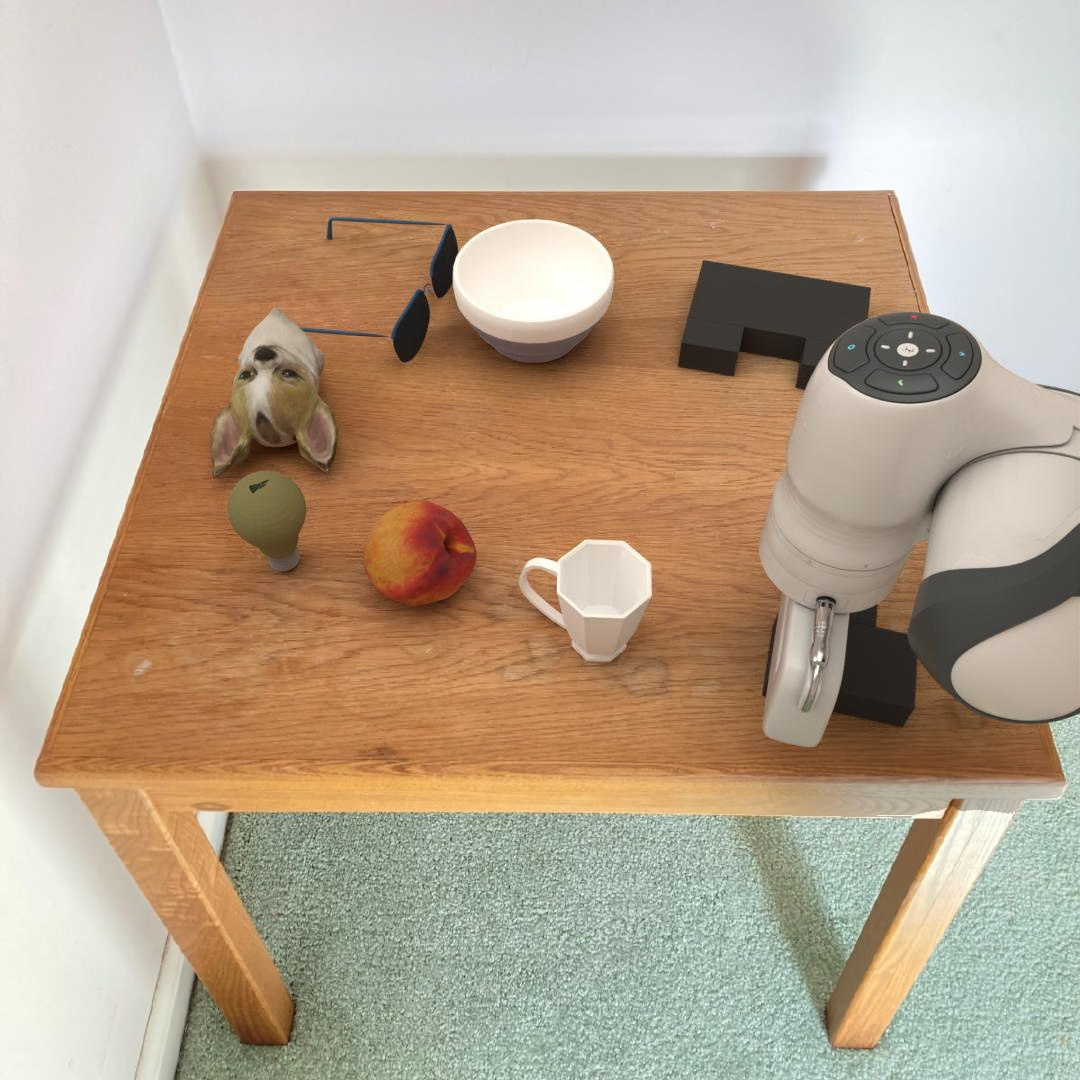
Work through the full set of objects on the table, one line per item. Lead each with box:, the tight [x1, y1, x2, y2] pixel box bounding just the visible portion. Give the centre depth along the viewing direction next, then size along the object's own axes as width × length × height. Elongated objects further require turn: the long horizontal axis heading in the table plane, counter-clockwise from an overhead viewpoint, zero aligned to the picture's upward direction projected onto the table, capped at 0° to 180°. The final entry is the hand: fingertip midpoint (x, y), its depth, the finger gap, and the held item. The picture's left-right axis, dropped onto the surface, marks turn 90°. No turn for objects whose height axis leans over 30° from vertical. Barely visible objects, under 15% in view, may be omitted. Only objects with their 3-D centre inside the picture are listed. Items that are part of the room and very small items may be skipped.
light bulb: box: [227, 470, 307, 572], centre depth 77 cm, size 6×6×10 cm
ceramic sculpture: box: [209, 306, 339, 478], centre depth 87 cm, size 11×9×15 cm
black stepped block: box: [761, 603, 918, 729], centre depth 75 cm, size 10×9×3 cm
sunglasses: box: [299, 216, 459, 364], centre depth 99 cm, size 17×15×5 cm
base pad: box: [677, 259, 872, 390], centre depth 96 cm, size 16×12×3 cm
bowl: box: [452, 218, 615, 364], centre depth 94 cm, size 14×14×8 cm
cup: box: [518, 539, 653, 663], centre depth 75 cm, size 7×10×8 cm
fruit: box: [362, 500, 478, 607], centre depth 77 cm, size 8×8×8 cm
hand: (790, 653), depth 75 cm, fingers closed on black stepped block, 6 cm apart
